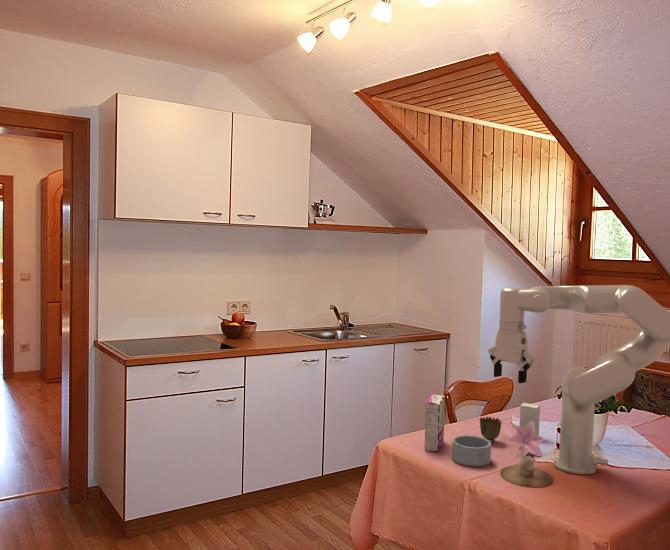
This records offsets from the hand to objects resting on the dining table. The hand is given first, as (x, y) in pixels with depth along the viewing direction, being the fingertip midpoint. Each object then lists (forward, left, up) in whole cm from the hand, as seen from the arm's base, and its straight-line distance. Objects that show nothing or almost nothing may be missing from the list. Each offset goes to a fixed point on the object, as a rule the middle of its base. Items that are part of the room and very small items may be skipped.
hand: (509, 379), depth 199 cm
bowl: (+11, +3, -26) cm, 29 cm away
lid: (-5, +13, -27) cm, 30 cm away
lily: (-7, -8, -27) cm, 28 cm away
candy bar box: (+23, -7, -27) cm, 36 cm away
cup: (+4, -16, -26) cm, 31 cm away
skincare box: (-10, -24, -26) cm, 37 cm away
